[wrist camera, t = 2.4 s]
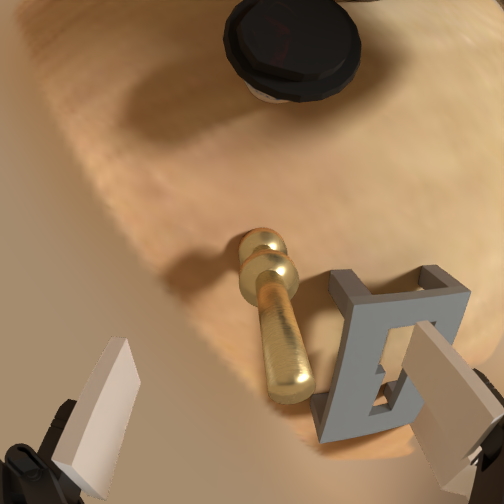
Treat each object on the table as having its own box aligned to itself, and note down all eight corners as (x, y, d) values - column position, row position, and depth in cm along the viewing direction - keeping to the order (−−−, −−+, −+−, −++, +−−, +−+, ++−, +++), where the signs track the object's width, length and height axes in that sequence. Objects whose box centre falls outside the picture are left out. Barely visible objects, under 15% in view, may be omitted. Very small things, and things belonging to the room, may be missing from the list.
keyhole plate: (330, 270, 25) (354, 305, 19) (436, 264, 25) (471, 291, 20) (309, 405, 31) (319, 443, 26) (396, 390, 32) (413, 422, 26)
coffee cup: (300, 29, 18) (337, -33, 8) (331, 105, 20) (394, 82, 11) (215, 52, 18) (200, -8, 9) (247, 130, 21) (254, 117, 11)
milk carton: (404, 415, 34) (449, 511, 17) (423, 383, 32) (482, 485, 14) (437, 406, 35) (484, 490, 17) (456, 375, 32) (516, 462, 15)
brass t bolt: (238, 228, 23) (239, 355, 9) (285, 227, 23) (349, 347, 9) (239, 271, 25) (242, 421, 11) (284, 270, 25) (332, 413, 11)
